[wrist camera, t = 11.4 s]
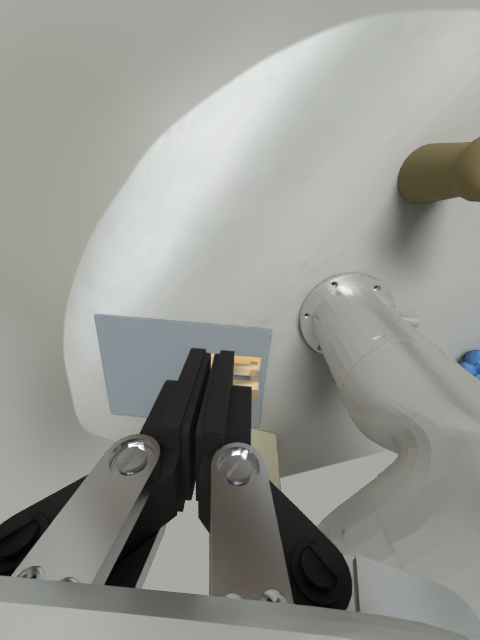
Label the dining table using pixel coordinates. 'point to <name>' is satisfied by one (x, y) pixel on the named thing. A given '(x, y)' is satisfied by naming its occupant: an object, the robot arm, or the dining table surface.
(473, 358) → the grapes
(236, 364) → the fence fixed
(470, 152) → the cork
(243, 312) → the dining table surface
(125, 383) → the card
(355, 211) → the dining table surface
